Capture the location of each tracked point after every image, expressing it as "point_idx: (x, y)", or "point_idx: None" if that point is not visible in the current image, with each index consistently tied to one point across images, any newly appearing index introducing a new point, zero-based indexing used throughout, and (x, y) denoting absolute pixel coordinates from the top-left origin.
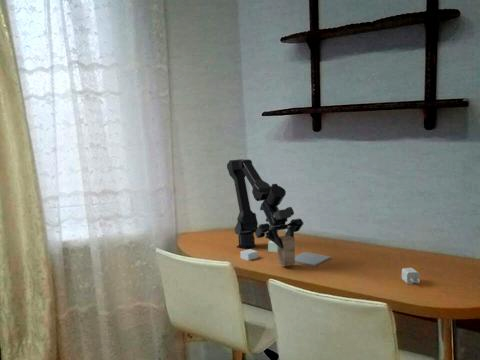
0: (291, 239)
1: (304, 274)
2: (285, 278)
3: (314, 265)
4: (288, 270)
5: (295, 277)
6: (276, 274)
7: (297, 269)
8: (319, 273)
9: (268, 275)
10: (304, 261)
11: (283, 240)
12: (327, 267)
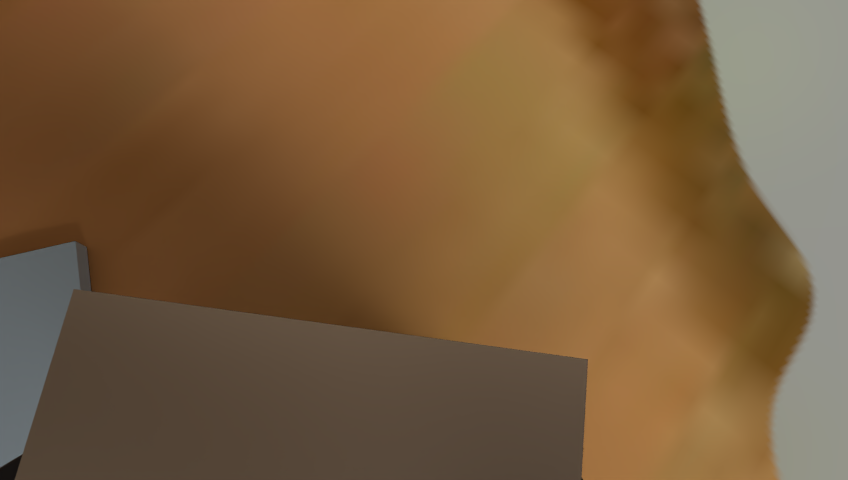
0: (229, 321)
1: (398, 109)
2: (657, 147)
3: (69, 246)
4: None
5: (544, 102)
6: (672, 324)
7: (334, 296)
8: (247, 31)
9: (781, 362)
10: None
11: (573, 404)
12: (9, 113)
